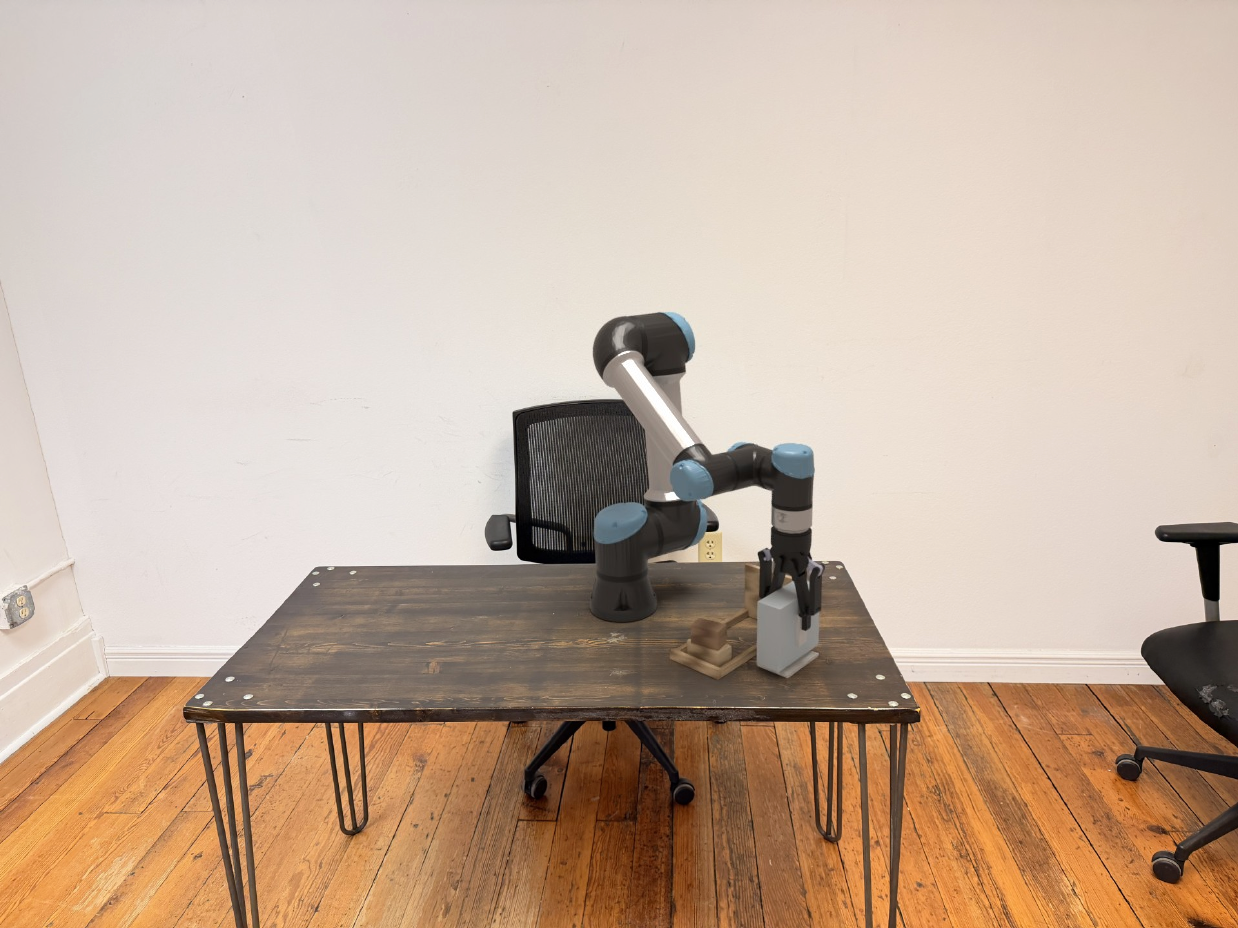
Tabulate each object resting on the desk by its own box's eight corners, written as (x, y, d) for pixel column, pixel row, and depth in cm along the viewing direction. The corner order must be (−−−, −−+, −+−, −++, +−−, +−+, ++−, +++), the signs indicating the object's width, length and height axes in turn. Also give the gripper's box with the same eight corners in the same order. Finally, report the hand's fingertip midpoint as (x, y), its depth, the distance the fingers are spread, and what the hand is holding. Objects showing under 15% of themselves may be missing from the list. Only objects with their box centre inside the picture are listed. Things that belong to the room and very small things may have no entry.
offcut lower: (687, 657, 163) (687, 640, 162) (700, 650, 166) (700, 632, 165) (718, 672, 158) (718, 653, 157) (731, 664, 161) (731, 646, 159)
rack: (670, 658, 163) (669, 603, 160) (747, 613, 181) (747, 562, 177) (718, 679, 155) (718, 622, 151) (793, 629, 172) (795, 577, 169)
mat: (756, 665, 159) (756, 662, 159) (788, 644, 167) (788, 641, 167) (787, 678, 154) (787, 675, 154) (818, 655, 162) (818, 653, 162)
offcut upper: (690, 643, 161) (690, 624, 160) (699, 635, 164) (699, 617, 163) (718, 650, 158) (718, 632, 157) (726, 642, 161) (726, 624, 160)
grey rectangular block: (756, 663, 157) (757, 601, 153) (796, 636, 167) (798, 577, 163) (778, 672, 154) (780, 609, 150) (818, 644, 163) (820, 584, 160)
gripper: (739, 521, 156) (739, 631, 163) (823, 544, 144) (819, 661, 151) (762, 511, 161) (761, 618, 168) (845, 532, 149) (840, 646, 156)
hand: (788, 638), depth 159 cm, fingers closed on grey rectangular block, 5 cm apart
